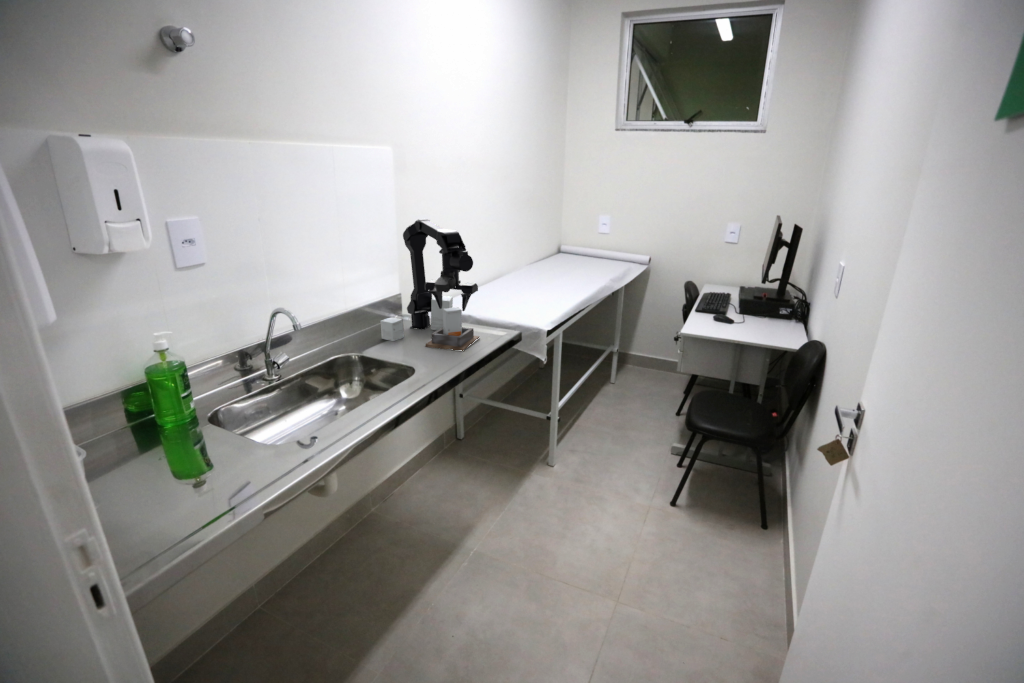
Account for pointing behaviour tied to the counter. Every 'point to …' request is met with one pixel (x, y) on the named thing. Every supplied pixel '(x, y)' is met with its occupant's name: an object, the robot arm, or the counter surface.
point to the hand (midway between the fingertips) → (452, 309)
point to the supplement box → (439, 311)
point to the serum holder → (452, 339)
